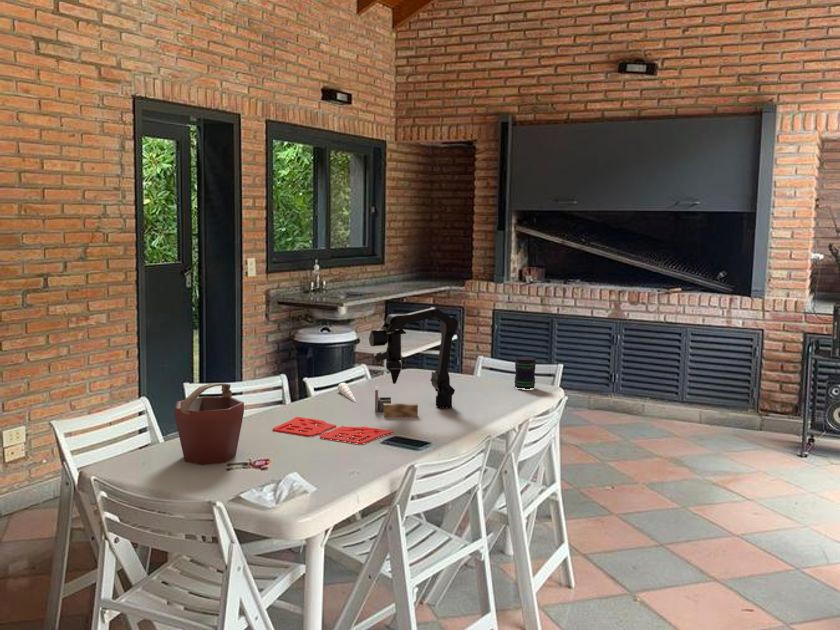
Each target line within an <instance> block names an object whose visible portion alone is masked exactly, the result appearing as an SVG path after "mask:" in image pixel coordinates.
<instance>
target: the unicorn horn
mask: <svg viewBox="0 0 840 630" xmlns="http://www.w3.org/2000/svg"><path fill="white" fill-rule="evenodd" d="M337 390H338V392H339V393H340V392H341V395H343V396H344V395H345V396H344V397H346V399H349V400H350V401H352V402H353V401H354V403H357V400H356V398H355V396H354V394H353V392H352V391H351V389H350V387H349V385H348V384H347V383H346V382H341V383H339V384H338V385H337Z"/></svg>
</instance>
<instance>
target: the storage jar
mask: <svg viewBox="0 0 840 630" xmlns="http://www.w3.org/2000/svg"><path fill="white" fill-rule="evenodd" d="M514 368H515V376H514V388H515V387H517V388H525V389H530V388H534V387H536V378H535V376H536V375H535V371H536V357H534V356H530V355H529V356H528V355H527V356H525V355H522V356H521V355H520V356H519V355H518V356H515V361H514Z"/></svg>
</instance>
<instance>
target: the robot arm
mask: <svg viewBox="0 0 840 630" xmlns="http://www.w3.org/2000/svg"><path fill="white" fill-rule="evenodd" d="M429 319H434V320H435V321H437V322H438V323H439V331H440V335H441V337H440V345H439V347H440V348H439V352H438V360H437V366H436V370H435V371H431V378H430V380H429V381H430V382H431V386H432V387H433V388H434V390H435V392H436V396H435V407H436V408H437V409H453V395H455V394H454V393H455V391H456V389H454V387H452V385H451V383H450V382H451V381H450V374H449V367H450V365H449V364H450V357H451V351H452V343H453V338H454V336H455V334H456V333H457V330H458V326H459V320H458V319H457V318H456V317H453V316H450V315H448V314H447V313H445V312H443V311H442V310H440V309H439V308H438V307H430V308H425V309H421V310H417V311H413V312H409V313H394V314H393V313H391V314H388V315H387V316H386V318H385V322H384V324H383V325H382V326H381V328H380V329H370V333H369V336H368V341H369V342H368V343H369V345H370V347H382V346H386V345H387V347H386V350H385V349H384V350H383V351H382V350H381V351H379V352H376V353H374V354H373V357H374V360H375V363H377V364H378V363H380V362H381V361H382V362H383V361H385V360H386V370H387V371H388V372H390V377H391V381H392V384H393V385H396V384H397V381H398V379H399V378H398V377H400V374H401V371H402V368H403V367H402V364H403V355H402V335H406V334H407V332H406V331H405V330H404V329H403V328H404V327H406V326H407V325H409V324H414V323H416V322H421V321H425V320H429Z"/></svg>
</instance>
